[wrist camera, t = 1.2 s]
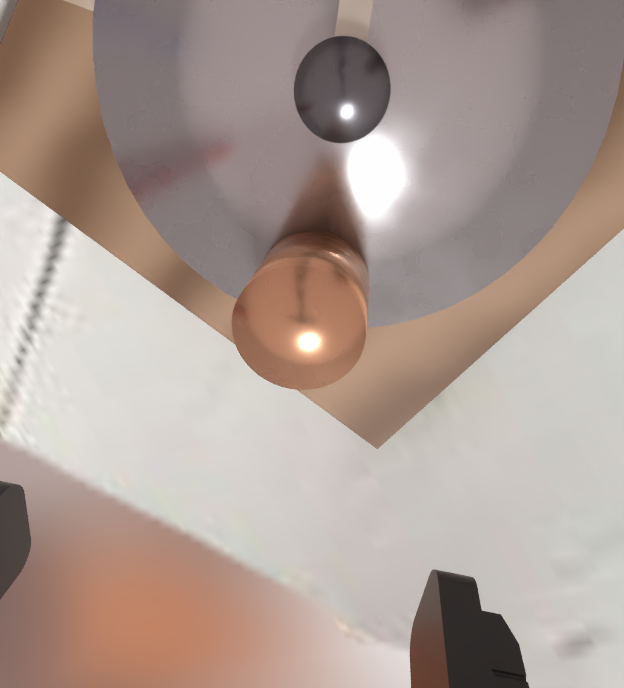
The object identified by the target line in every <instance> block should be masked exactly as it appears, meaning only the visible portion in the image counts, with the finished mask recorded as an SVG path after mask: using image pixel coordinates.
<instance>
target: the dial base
mask: <svg viewBox="0 0 624 688" xmlns="http://www.w3.org/2000/svg"><path fill="white" fill-rule="evenodd" d="M94 3H95V0H18V2H17V5H16V7H15V9H14V12H13V14H12V17H11V19H10V22H9V24H8V27H7V29H6V32H5V34H4V37H3V39H2V42H1V44H0V172H2V173H3V174H4V175H6V176H7V177H8V178H10V179H11V180H12V181H14V182H15V183H16V184H18V185H19V186H21V187H22V188H23V189H25V190H26V191H27V192H29V193H30V194H31V195H33V196H34V197H35V198H37V199H38V200H40V201H41V202H42V203H44V204H45V205H46V206H48V207H49V208H50V209H52V210H53V211H55V212H56V213H57V214H59V215H60V216H61V217H63V218H64V219H65V220H67V221H68V222H69V223H71V224H72V225H74V226H75V227H76V228H78V229H79V230H80V231H82V232H83V233H84V234H86V235H87V236H88V237H90V238H91V239H93V240H94V241H95V242H97V243H98V244H99V245H101V246H102V247H103V248H105V249H106V250H108V251H109V252H110V253H112V254H113V255H114V256H116V257H117V258H118V259H120V260H121V261H122V262H124V263H125V264H127V265H128V266H129V267H131V268H132V269H133V270H135V271H136V272H137V273H139V274H140V275H141V276H143V277H144V278H146V279H147V280H148V281H150V282H151V283H152V284H154V285H155V286H156V287H158V288H159V289H161V290H162V291H163V292H165V293H166V294H167V295H169V296H170V297H171V298H173V299H174V300H175V301H177V302H178V303H180V304H181V305H182V306H184V307H185V308H186V309H188V310H189V311H190V312H192V313H193V314H195V315H196V316H197V317H199V318H200V319H201V320H203V321H204V322H205V323H207V324H208V325H209V326H211V327H212V328H214V329H215V330H216V331H218V332H219V333H220V334H222V335H223V336H224V337H226V338H227V339H228V340H230V341H231V342H233V343H234V344H235V342H234V338H233V334H232V314H233V309H234V306H235V303H236V301H237V299H235V298H233V297H231V296H229V295H228V294H226V293H225V292H223V291H222V290H220V289H219V288H217V287H216V286H214V285H213V284H211V283H210V282H208V281H207V280H205V279H204V278H203V277H202V276H201V275H200V274H198V273H197V272H196V271H195V270H194V269H192V268H191V267H190V266H189V265H188V264H187V263H185V262H184V261H183V260H182V259H181V258H180V257H179V256H178V255H177V253H176V252H175V251H174V250H173V249H172V248H171V247H170V246H169V245H168V244H167V243H166V242H165V241H164V240H163V238H162V237H161V236H160V234H159V233H158V232H157V230H156V229H155V228H154V226H153V225H152V224H151V222H150V221H149V220H148V218H147V217H146V216H145V214H144V213H143V211H142V210H141V208H140V206H139V204H138V203H137V201H136V199H135V198H134V196H133V194H132V193H131V191H130V189H129V188H128V186H127V183H126V181H125V179H124V177H123V175H122V172H121V170H120V168H119V166H118V163H117V161H116V159H115V157H114V154H113V151H112V148H111V145H110V142H109V139H108V136H107V133H106V129H105V126H104V123H103V119H102V114H101V109H100V104H99V99H98V95H97V90H96V81H95V71H94V61H93V11H94ZM623 229H624V60H623V66H622V72H621V78H620V83H619V89H618V95H617V98H616V101H615V105H614V108H613V111H612V115H611V118H610V121H609V125H608V128H607V131H606V134H605V136H604V139H603V141H602V143H601V146H600V148H599V150H598V153H597V155H596V157H595V160H594V162H593V164H592V167H591V169H590V171H589V172H588V174H587V176H586V177H585V179H584V181H583V183H582V184H581V186H580V188H579V190H578V191H577V193H576V195H575V197H574V198H573V200H572V202H571V203H570V204H569V206H568V207H567V208H566V210H565V211H564V212H563V214H562V215H561V216H560V218H559V219H558V220H557V222H556V223H555V225H554V226H553V227H552V229H551V230H550V231H549V232H548V233H547V234H546V235H545V236H544V237H543V238H542V239H541V241H540V242H539V243H538V244H537V245H536V246H535V247H534V248H533V249H532V250H531V251H530V252H529V253H528V254H527V255H526V256H525V257H524V258H523V259H522V260H520V261H519V262H518V263H517V264H516V265H514V266H513V267H512V268H511V269H510V270H509V271H507V272H506V273H505V274H504V275H503V276H501V277H500V278H498V279H497V280H495V281H494V282H492V283H491V284H489V285H488V286H486V287H485V288H483V289H482V290H480V291H479V292H477V293H476V294H474V295H472V296H470V297H468V298H466V299H464V300H462V301H460V302H458V303H456V304H455V305H453V306H451V307H449V308H446V309H443V310H441V311H438V312H435V313H433V314H430V315H427V316H425V317H422V318H418V319H414V320H410V321H406V322H402V323H398V324H394V325H387V326H378V327H370V328H366V339H365V345H364V348H363V352H362V354H361V356H360V358H359V360H358V361H357V363H356V365H355V366H354V367H353V368H352V369H351V371H350V372H348V373H347V374H346V375H345V376H344V377H342V378H341V379H339V380H338V381H336V382H334V383H332V384H330V385H327V386H325V387H321V388H317V389H309V390H298V391H299V392H301V393H302V394H303V395H305V396H306V397H307V398H309V399H310V400H311V401H313V402H314V403H315V404H317V405H318V406H320V407H321V408H322V409H324V410H325V411H326V412H328V413H329V414H330V415H332V416H333V417H335V418H336V419H337V420H339V421H340V422H341V423H343V424H344V425H345V426H347V427H348V428H349V429H351V430H352V431H354V432H355V433H356V434H358V435H359V436H360V437H362V438H363V439H364V440H366V441H367V442H368V443H370V444H371V445H373V446H374V447H375V448H377V449H378V448H379V447H380V446H381V445H382V444H384V443H385V442H386V441H387V440H388V439H389V438H390V437H391V436H393V435H394V434H395V433H396V432H397V431H398V430H399V429H400V428H401V427H403V426H404V425H405V424H406V423H407V422H408V421H409V420H410V419H412V418H413V417H414V416H415V415H416V414H417V413H418V412H419V411H420V410H422V409H423V408H424V407H425V406H426V405H427V404H428V403H429V402H431V401H432V400H433V399H434V398H435V397H436V396H437V395H438V394H439V393H441V392H442V391H443V390H444V389H445V388H446V387H447V386H448V385H449V384H451V383H452V382H453V381H454V380H455V379H456V378H457V377H458V376H460V375H461V374H462V373H463V372H464V371H465V370H466V369H467V368H468V367H470V366H471V365H472V364H473V363H474V362H475V361H476V360H477V359H479V358H480V357H481V356H482V355H483V354H484V353H485V352H486V351H487V350H489V349H490V348H491V347H492V346H493V345H494V344H495V343H496V342H498V341H499V340H500V339H501V338H502V337H503V336H504V335H505V334H506V333H508V332H509V331H510V330H511V329H512V328H513V327H514V326H515V325H517V324H518V323H519V322H520V321H521V320H522V319H523V318H524V317H525V316H527V315H528V314H529V313H530V312H531V311H532V310H533V309H534V308H535V307H537V306H538V305H539V304H540V303H541V302H542V301H543V300H544V299H546V298H547V297H548V296H549V295H550V294H551V293H552V292H553V291H554V290H556V289H557V288H558V287H559V286H560V285H561V284H562V283H563V282H565V281H566V280H567V279H568V278H569V277H570V276H571V275H572V274H573V273H575V272H576V271H577V270H578V269H579V268H580V267H581V266H582V265H584V264H585V263H586V262H587V261H588V260H589V259H590V258H591V257H592V256H594V255H595V254H596V253H597V252H598V251H599V250H600V249H601V248H602V247H604V246H605V245H606V244H607V243H608V242H609V241H610V240H611V239H613V238H614V237H615V236H616V235H617V234H618V233H619V232H620V231H621V230H623ZM296 390H297V389H296Z"/></svg>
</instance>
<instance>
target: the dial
mask: <svg viewBox="0 0 624 688" xmlns="http://www.w3.org/2000/svg"><path fill="white" fill-rule="evenodd" d="M623 60H624V0H95V3H94V11H93V61H94V71H95V81H96V90H97V95H98V99H99V104H100V109H101V114H102V119H103V123H104V126H105V129H106V133H107V136H108V139H109V142H110V145H111V148H112V151H113V154H114V157H115V159H116V161H117V163H118V166H119V168H120V170H121V172H122V175H123V177H124V179H125V181H126V183H127V186H128V188H129V189H130V191H131V193H132V194H133V196H134V198H135V199H136V201H137V203H138V204H139V206H140V208H141V210H142V211H143V213H144V214H145V216H146V217H147V218H148V220H149V221H150V222H151V224H152V225H153V226H154V228H155V229H156V230H157V232H158V233H159V234H160V236H161V237H162V238H163V240H164V241H165V242H166V243H167V244H168V245H169V246H170V247H171V248H172V249H173V250H174V251H175V252H176V253H177V255H178V256H179V257H180V258H181V259H182V260H183V261H184V262H185V263H187V264H188V265H189V266H190V267H191V268H192V269H194V270H195V271H196V272H197V273H198V274H200V275H201V276H202V277H203V278H204V279H205V280H207V281H208V282H210V283H211V284H213V285H214V286H216V287H217V288H219V289H220V290H222V291H223V292H225V293H226V294H228V295H229V296H231V297H233V298H235V299H237V301H236V303H235V306H234V309H233V314H232V334H233V338H234V342H235V345H236V347H237V349H238V351H239V353H240V355H241V357H242V358H243V359H244V361H245V362H246V363H247V365H248V366H249V367H250V368H251V369H252V370H253V371H254V372H256V373H257V374H258V375H259V376H261V377H262V378H264V379H266V380H267V381H269V382H271V383H273V384H276V385H279V386H281V387H285V388H290V389H297V390H309V389H317V388H321V387H325V386H327V385H330V384H332V383H334V382H336V381H338V380H339V379H341V378H342V377H344V376H345V375H346V374H347V373H348V372H350V371H351V369H352V368H353V367H354V366H355V365H356V363H357V361H358V360H359V358H360V356H361V354H362V352H363V348H364V345H365V339H366V328H370V327H378V326H387V325H394V324H398V323H402V322H406V321H410V320H414V319H418V318H422V317H425V316H427V315H430V314H433V313H435V312H438V311H441V310H443V309H446V308H449V307H451V306H453V305H455V304H456V303H458V302H460V301H462V300H464V299H466V298H468V297H470V296H472V295H474V294H476V293H477V292H479V291H480V290H482V289H483V288H485V287H486V286H488V285H489V284H491V283H492V282H494V281H495V280H497V279H498V278H500V277H501V276H503V275H504V274H505V273H506V272H507V271H509V270H510V269H511V268H512V267H513V266H514V265H516V264H517V263H518V262H519V261H520V260H522V259H523V258H524V257H525V256H526V255H527V254H528V253H529V252H530V251H531V250H532V249H533V248H534V247H535V246H536V245H537V244H538V243H539V242H540V241H541V239H542V238H543V237H544V236H545V235H546V234H547V233H548V232H549V231H550V230H551V229H552V227H553V226H554V225H555V223H556V222H557V220H558V219H559V218H560V216H561V215H562V214H563V212H564V211H565V210H566V208H567V207H568V206H569V204H570V203H571V202H572V200H573V198H574V197H575V195H576V193H577V191H578V190H579V188H580V186H581V184H582V183H583V181H584V179H585V177H586V176H587V174H588V172H589V171H590V169H591V167H592V164H593V162H594V160H595V157H596V155H597V153H598V150H599V148H600V146H601V143H602V141H603V139H604V136H605V134H606V131H607V128H608V125H609V121H610V118H611V115H612V111H613V108H614V105H615V101H616V98H617V95H618V89H619V83H620V78H621V72H622V66H623Z"/></svg>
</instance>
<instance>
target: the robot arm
mask: <svg viewBox="0 0 624 688" xmlns="http://www.w3.org/2000/svg"><path fill="white" fill-rule="evenodd" d="M30 547H31V536H30V529H29V522H28V515H27V508H26V501H25V494H24V490H23V488H22V487H21V486H20V485H17V484H12V483H7V482H3V481H0V599H1V598H2V596H3V595H4V594H5V592H6V591H7V590H8V588H9V587H10V586H11V584H12V583H13V582H14V580H15V579H16V578H17V576H18V575H19V574H20V572H21V571H22V569H23V567H24V565H25V563H26V561H27V558H28V555H29V552H30ZM410 668H411V688H529V685H528V682H526V672H525V668H524V664H523V660H522V655H521V651H520V647H519V644H518V642H517V640H516V639H515V637H514V635H513V634H512V632H511V630H510V629H509V627H508V625H507V624H506V622H505V621H504V619H503V617H502V616H501V614H496V613H491V612H486V611H481V605H480V599H479V594H478V588H477V584H476V581H475V579H474V578H473V577H469V576H464V575H459V574H454V573H449V572H444V571H439V570H432V571H431V573H430V576H429V578H428V581H427V584H426V587H425V590H424V593H423V596H422V599H421V602H420V605H419V607H418V610H417V613H416V616H415V619H414V623H413V627H412V633H411V642H410Z"/></svg>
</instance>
